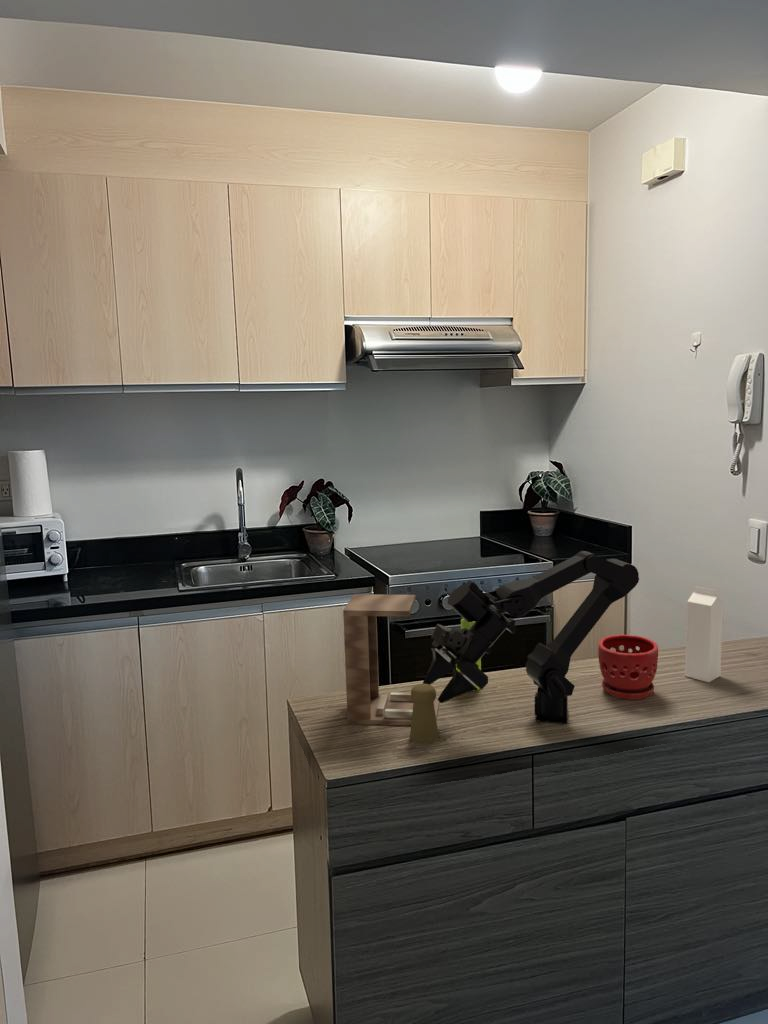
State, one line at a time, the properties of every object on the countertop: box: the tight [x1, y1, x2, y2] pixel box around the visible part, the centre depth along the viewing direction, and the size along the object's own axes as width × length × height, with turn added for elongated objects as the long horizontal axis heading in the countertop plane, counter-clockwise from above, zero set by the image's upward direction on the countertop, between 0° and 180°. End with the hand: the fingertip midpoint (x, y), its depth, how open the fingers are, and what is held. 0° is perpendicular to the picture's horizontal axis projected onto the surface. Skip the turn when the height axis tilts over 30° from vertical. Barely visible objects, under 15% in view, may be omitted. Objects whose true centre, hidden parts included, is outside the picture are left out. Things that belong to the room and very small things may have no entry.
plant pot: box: [597, 634, 659, 700], centre depth 174 cm, size 13×13×12 cm
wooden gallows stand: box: [342, 593, 440, 726], centre depth 166 cm, size 19×13×25 cm
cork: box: [409, 683, 440, 744], centre depth 155 cm, size 6×6×11 cm
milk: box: [684, 585, 724, 683], centre depth 182 cm, size 6×6×22 cm
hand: (431, 693), depth 155 cm, fingers open, 9 cm apart
